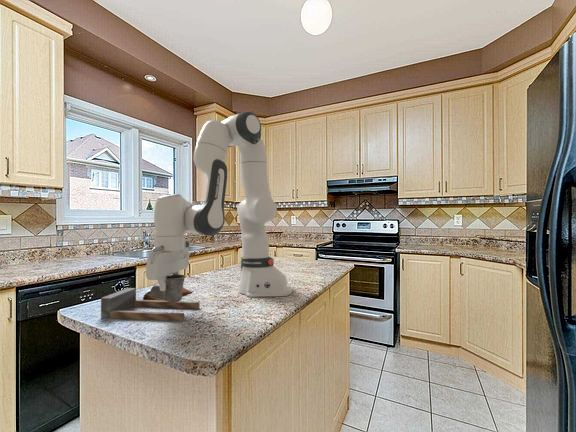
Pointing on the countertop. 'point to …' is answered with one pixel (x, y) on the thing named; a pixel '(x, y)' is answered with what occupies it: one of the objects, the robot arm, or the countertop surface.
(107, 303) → the channel
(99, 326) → the countertop surface
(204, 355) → the countertop surface
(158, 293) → the pipe
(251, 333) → the countertop surface
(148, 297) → the sunglasses case
